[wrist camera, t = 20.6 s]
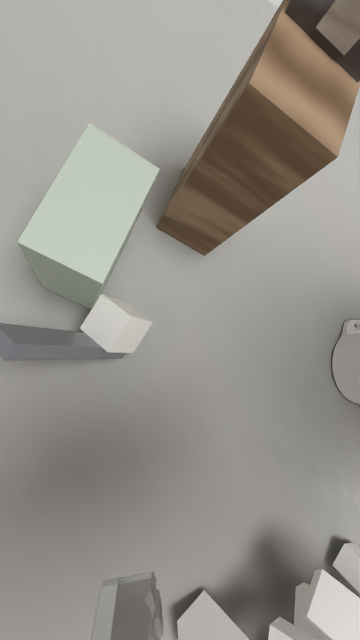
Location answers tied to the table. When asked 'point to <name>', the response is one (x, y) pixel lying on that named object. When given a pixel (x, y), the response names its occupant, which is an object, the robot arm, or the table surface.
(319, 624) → the pile of blocks
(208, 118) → the table surface
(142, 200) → the block
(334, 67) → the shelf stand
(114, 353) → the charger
